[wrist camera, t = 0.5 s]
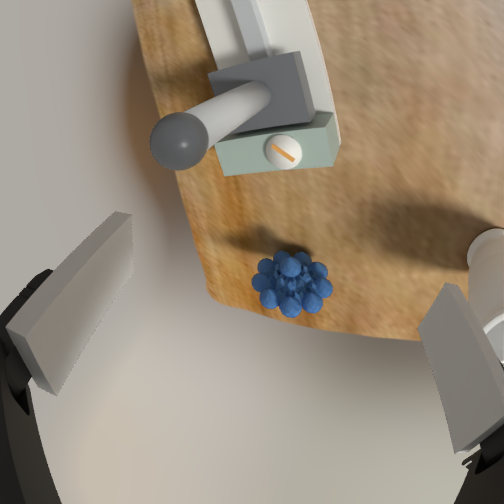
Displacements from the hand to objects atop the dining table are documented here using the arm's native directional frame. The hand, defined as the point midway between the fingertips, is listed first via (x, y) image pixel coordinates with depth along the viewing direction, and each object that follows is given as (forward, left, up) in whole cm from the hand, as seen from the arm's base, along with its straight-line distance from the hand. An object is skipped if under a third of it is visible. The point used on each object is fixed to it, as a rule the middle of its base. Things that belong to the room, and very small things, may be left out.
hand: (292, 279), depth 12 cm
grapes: (+20, -10, -27) cm, 35 cm away
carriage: (-4, -8, -23) cm, 25 cm away
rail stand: (-11, -8, -27) cm, 30 cm away
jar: (+20, +19, -27) cm, 38 cm away
